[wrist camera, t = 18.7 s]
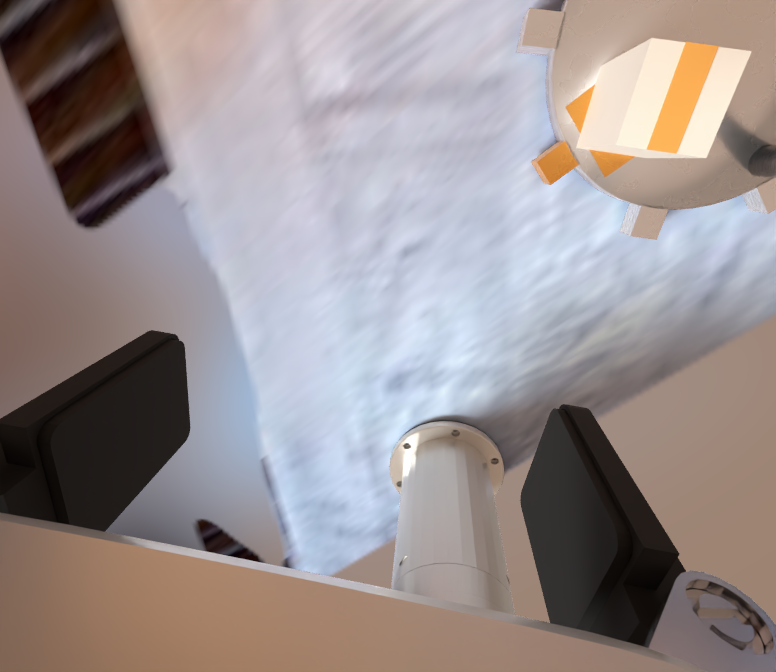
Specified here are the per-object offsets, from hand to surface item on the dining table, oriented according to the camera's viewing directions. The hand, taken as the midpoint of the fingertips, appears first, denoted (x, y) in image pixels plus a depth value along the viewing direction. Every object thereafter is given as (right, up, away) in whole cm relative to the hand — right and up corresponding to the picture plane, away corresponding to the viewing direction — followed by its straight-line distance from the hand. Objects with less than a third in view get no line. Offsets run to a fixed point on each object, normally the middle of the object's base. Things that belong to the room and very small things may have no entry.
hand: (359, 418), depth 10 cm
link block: (+17, +17, +18) cm, 30 cm away
